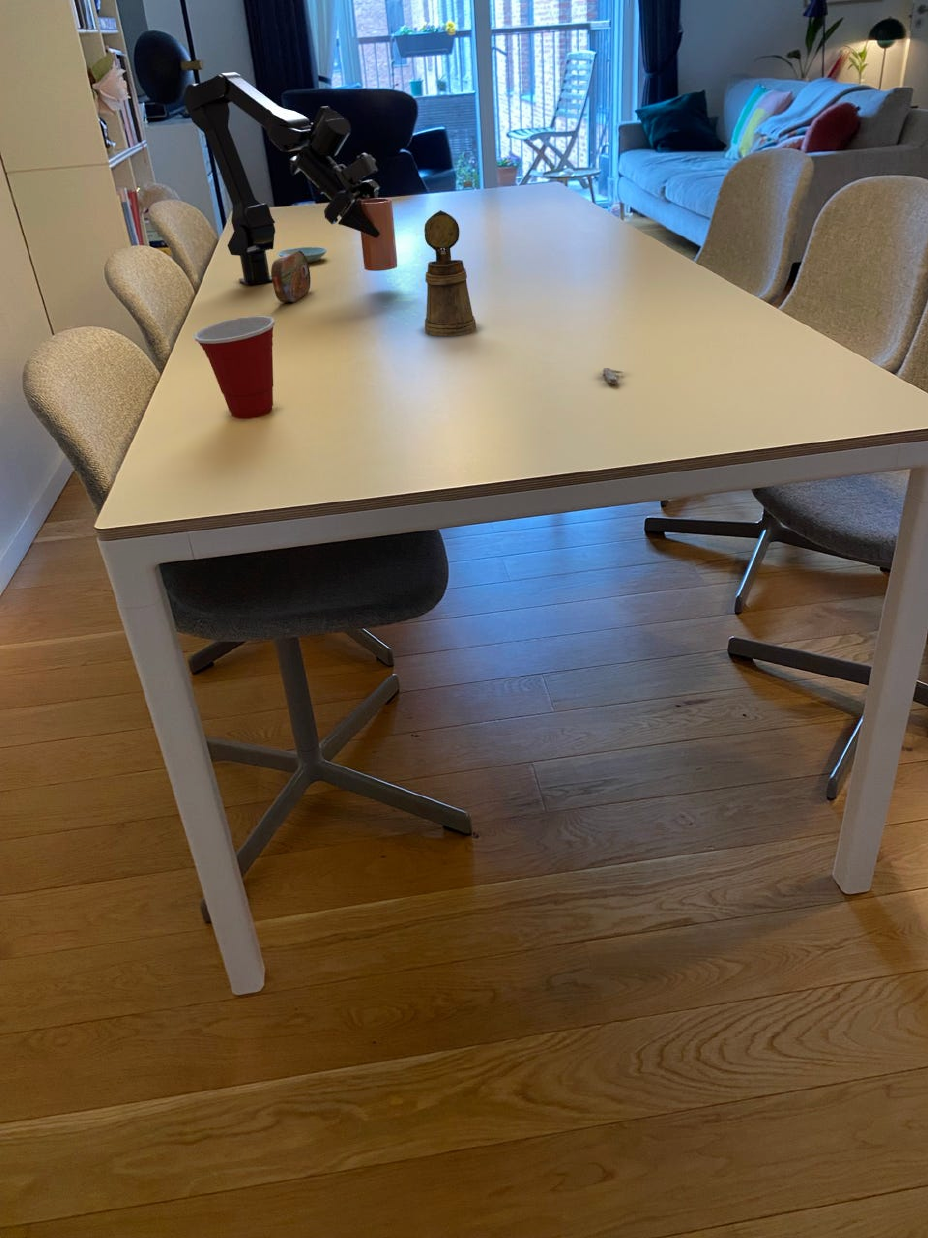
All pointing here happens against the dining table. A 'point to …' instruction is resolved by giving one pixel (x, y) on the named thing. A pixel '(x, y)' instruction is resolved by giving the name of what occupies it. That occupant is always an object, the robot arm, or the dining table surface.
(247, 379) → the plastic cup
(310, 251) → the saucer
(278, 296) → the tin
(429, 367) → the dining table surface
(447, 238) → the wooden mug
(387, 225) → the pot
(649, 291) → the dining table surface
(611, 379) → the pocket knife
